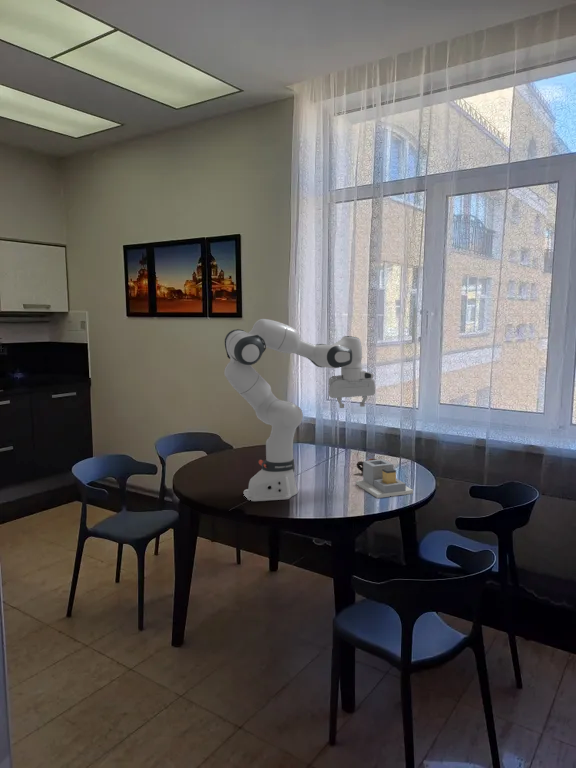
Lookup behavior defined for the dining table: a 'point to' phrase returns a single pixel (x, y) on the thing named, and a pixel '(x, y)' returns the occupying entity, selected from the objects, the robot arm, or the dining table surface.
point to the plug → (389, 475)
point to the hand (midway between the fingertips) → (352, 407)
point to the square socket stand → (380, 480)
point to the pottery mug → (362, 465)
